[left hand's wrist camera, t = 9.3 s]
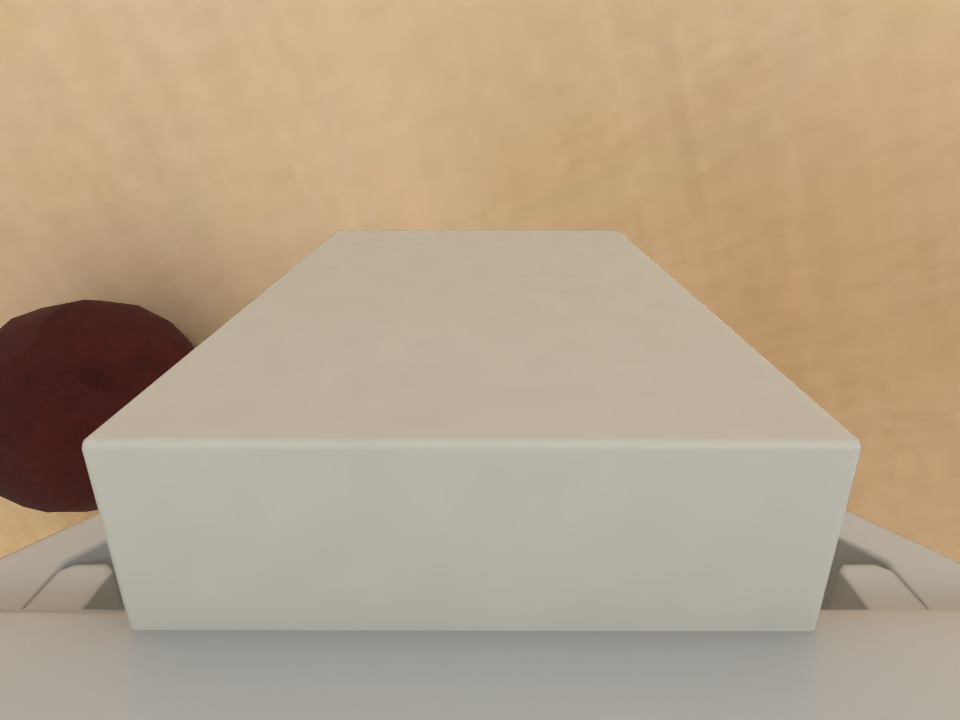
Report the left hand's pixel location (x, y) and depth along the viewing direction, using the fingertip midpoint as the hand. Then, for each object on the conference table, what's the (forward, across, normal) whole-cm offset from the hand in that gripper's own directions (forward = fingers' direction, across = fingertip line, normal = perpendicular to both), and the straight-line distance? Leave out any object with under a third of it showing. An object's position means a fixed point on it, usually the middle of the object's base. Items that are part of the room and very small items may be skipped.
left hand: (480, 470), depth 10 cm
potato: (+14, -14, -4) cm, 20 cm away
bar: (+3, 0, -10) cm, 11 cm away
